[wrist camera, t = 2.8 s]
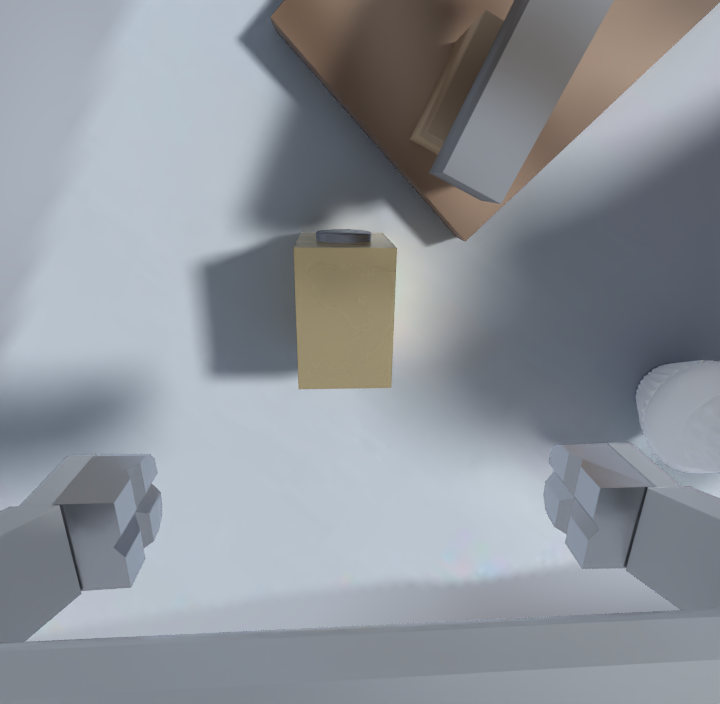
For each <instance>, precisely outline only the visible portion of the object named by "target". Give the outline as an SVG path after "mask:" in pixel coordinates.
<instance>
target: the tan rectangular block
mask: <svg viewBox="0 0 720 704" xmlns="http://www.w3.org/2000/svg"><path fill="white" fill-rule="evenodd" d="M396 256H397V248H396V247H395V245H394V244H393V243H392V242H391V241H390V240H389V239H388V238H387V237H386V236H385V235H384V234H383V233H371V232H369V231H363V230H350V229H332V230H321V231H317V232H316V233H300V235H299V237H298V239H297V241H296V243H295V246H294V275H295V302H296V329H297V357H298V384H299V389H339V388H391V379H392V354H393V330H394V305H395V281H396Z"/></svg>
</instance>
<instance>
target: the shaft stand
mask: <svg viewBox="0 0 720 704" xmlns="http://www.w3.org/2000/svg"><path fill="white" fill-rule="evenodd" d="M719 2H720V0H284V1H283V2H282V4H281V5H280V6H279V7H278V8H277V10H276V11H275V12H274V13H273V15H272V16H271V17H270V18H271V20H272V23H273V26H274V28H275V30H276V31H277V32H278V33H279V34H280V35H281V36H282V38H283V39H284V40H285V41H286V42H287V43H288V44H289V46H290V47H291V48H292V49H293V50H294V51H295V52H296V54H297V55H298V56H299V57H300V58H301V59H302V60H303V62H304V63H305V64H306V65H307V66H308V67H309V68H310V70H311V71H312V72H313V73H314V74H315V75H316V77H317V78H318V79H319V80H320V81H321V82H322V83H323V85H324V86H325V87H326V88H327V89H328V90H329V91H330V93H331V94H332V95H333V96H334V97H335V98H336V99H337V101H338V102H339V103H340V104H341V105H342V106H343V107H344V109H345V110H346V111H347V112H348V113H349V114H350V115H351V117H352V118H353V119H354V120H355V121H356V122H357V123H358V125H359V126H360V127H361V128H362V129H363V130H364V131H365V133H366V134H367V135H368V136H369V137H370V138H371V139H372V141H373V142H374V143H375V144H376V145H377V146H378V148H379V149H380V150H381V151H382V152H383V153H384V154H385V156H386V157H387V158H388V159H389V160H390V161H391V162H392V164H393V165H394V166H395V167H396V168H397V169H398V170H399V172H400V173H401V174H402V175H403V176H404V177H405V178H406V180H407V181H408V182H409V183H410V184H411V185H412V186H413V188H414V189H415V190H416V191H417V192H418V193H419V194H420V196H421V197H422V198H423V199H424V200H425V201H426V202H427V204H428V205H429V206H430V207H431V208H432V209H433V211H434V212H435V213H436V214H437V215H438V216H439V217H440V219H441V220H442V221H443V222H444V223H445V224H446V225H447V227H448V228H449V229H450V230H451V231H452V232H453V233H454V235H455V236H456V237H457V238H459V239H461V240H463V241H466V240H467V239H468V238H469V237H471V236H472V235H473V234H474V233H475V232H476V231H477V230H478V229H479V228H480V227H481V226H482V225H483V224H484V223H485V222H486V221H488V220H489V219H490V218H491V217H492V216H493V215H494V214H495V213H496V212H497V211H498V210H499V209H500V208H501V207H502V206H503V205H505V204H506V203H507V202H508V201H509V200H510V199H511V198H512V197H513V196H514V195H515V194H516V193H517V192H518V191H519V190H520V189H522V188H523V187H524V186H525V185H526V184H527V183H528V182H529V181H530V180H531V179H532V178H533V177H534V176H535V175H536V174H538V173H539V172H540V171H541V170H542V169H543V168H544V167H545V166H546V165H547V164H548V163H549V162H550V161H551V160H552V159H553V158H555V157H556V156H557V155H558V154H559V153H560V152H561V151H562V150H563V149H564V148H565V147H566V146H567V145H568V144H569V143H570V142H572V141H573V140H574V139H575V138H576V137H577V136H578V135H579V134H580V133H581V132H582V131H583V130H584V129H585V128H586V127H587V126H589V125H590V124H591V123H592V122H593V121H594V120H595V119H596V118H597V117H598V116H599V115H600V114H601V113H602V112H603V111H605V110H606V109H607V108H608V107H609V106H610V105H611V104H612V103H613V102H614V101H615V100H616V99H617V98H618V97H619V96H620V95H622V94H623V93H624V92H625V91H626V90H627V89H628V88H629V87H630V86H631V85H632V84H633V83H634V82H635V81H636V80H637V79H639V78H640V77H641V76H642V75H643V74H644V73H645V72H646V71H647V70H648V69H649V68H650V67H651V66H652V65H653V64H655V63H656V62H657V61H658V60H659V59H660V58H661V57H662V56H663V55H664V54H665V53H666V52H667V51H668V50H669V49H670V48H672V47H673V46H674V45H675V44H676V43H677V42H678V41H679V40H680V39H681V38H682V37H683V36H684V35H685V34H686V33H687V32H689V31H690V30H691V29H692V28H693V27H694V26H695V25H696V24H697V23H698V22H699V21H700V20H701V19H702V18H703V17H704V16H706V15H707V14H708V13H709V12H710V11H711V10H712V9H713V8H714V7H715V6H716V5H717V4H718V3H719Z"/></svg>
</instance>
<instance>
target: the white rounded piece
mask: <svg viewBox="0 0 720 704" xmlns="http://www.w3.org/2000/svg"><path fill="white" fill-rule="evenodd" d="M636 393H637V394H636V395H635V397H636V404H637V409H638V415H639V420H640V425H641V429H642V431H643V432H644V436H645V438H646V440H647V443H648V445H649V447H650V448H651V450H652V451H653V453H654V454H655V455H656V456H657V457H658V458H659V459H660V460H661V461H662V462H664V463H665V464H667V465H668V466H670V467H672V468H674V469H676V470H679V471H683V472H687V473H697V474H706V473H716V472H718V473H720V361H715V360H709V361H705V360H697V361H689V362H680V363H671V364H665V365H662V366H658V367H657V368H655V369H653V370H652V371H651V372H648V374H647V375H646V376H644V378H643V380H641V381H640V384H639V385H638V389H637V390H636Z"/></svg>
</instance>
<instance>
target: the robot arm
mask: <svg viewBox="0 0 720 704" xmlns="http://www.w3.org/2000/svg"><path fill="white" fill-rule="evenodd" d="M549 464H550V466H551V467H552V469H553V470H554V472H553V473H552V475H551V476H550V477H549V478H548V479H547V480H546V481H545V488H544V502H545V509H546V512H547V514H548V517H549V519H550V520H551V522H552V524H553V525H554V527H556V528H557V529H559V530H561V531H562V532H564V533H565V534H567V535H566V541H565V544H566V545H567V547H568V548H569V550H570V551H571V553H572V554H573V556H574V557H575V559H576V560H577V562H578V563H579V565H580V566H581V568H582V569H598V568H626V571H627V572H629V573H630V574H632V575H633V576H634V577H636V578H637V579H639V580H640V581H641V582H643V583H644V584H645V585H647V586H648V587H650V588H651V589H652V590H654V591H655V592H657V593H658V594H659V595H661V596H662V597H663V598H665V599H666V600H668V601H669V602H670V603H672V604H673V605H674V606H676V607H677V608H679V609H680V610H676V611H675V610H674V611H653V612H633V613H612V614H593V615H571V616H551V617H550V616H549V617H530V618H529V617H528V618H507V619H487V620H466V621H446V622H426V623H407V624H387V625H366V626H344V627H324V628H303V629H282V630H261V631H243V632H242V631H241V632H219V633H199V634H179V635H158V636H136V637H115V638H95V639H74V640H53V641H32V642H25V641H26V640H27V639H28V638H29V637H31V636H32V635H33V634H34V633H35V632H37V631H38V630H39V629H40V628H41V627H42V626H44V625H45V624H46V623H47V622H48V621H49V620H51V619H52V618H53V617H54V616H55V615H57V614H58V613H59V612H60V611H61V610H62V609H64V608H65V607H66V606H67V605H68V604H70V603H71V602H72V601H73V600H74V599H75V598H77V597H78V596H79V595H80V594H81V591H87V590H102V589H116V588H130V587H132V585H133V583H134V581H135V579H136V577H137V575H138V573H139V571H140V569H141V567H142V564H143V562H144V560H145V554H144V549H143V548H145V547H146V546H148V545H149V544H150V543H152V542H153V541H154V540H155V537H156V535H157V533H158V531H159V527H160V522H161V518H162V498H161V492H160V491H159V490H158V489H157V488H156V487H155V486H154V485H153V484H152V482H153V480H154V478H155V477H156V475H157V468H156V463H155V458H154V457H153V456H152V455H151V454H99V455H98V454H80V455H70V456H67V457H66V458H65V459H64V460H63V461H62V462H61V463H60V464H59V465H58V466H57V467H56V468H55V469H54V470H53V471H52V472H51V473H50V474H49V475H48V476H47V477H46V478H45V479H44V481H43V482H42V483H41V484H40V485H39V486H38V487H37V488H36V489H35V490H34V491H33V492H32V493H31V494H30V495H29V496H28V497H27V498H26V499H25V500H24V501H23V502H22V504H21V505H20V506H16V507H8V508H6V509H4V510H2V511H0V704H720V498H717V497H715V496H713V495H710V494H708V493H705V492H703V491H700V490H698V489H695V488H693V487H690V486H681V485H680V484H679V483H677V482H676V481H675V480H674V479H673V478H672V477H670V476H669V475H668V474H667V473H666V472H665V471H663V470H662V469H661V468H660V467H659V466H658V465H656V464H655V463H654V462H653V461H652V460H651V459H649V458H648V457H647V456H646V455H645V454H644V453H642V452H641V451H640V450H639V449H638V448H637V447H635V446H634V445H633V444H632V443H628V442H625V441H622V442H606V443H589V444H569V445H554V447H553V449H552V451H551V453H550V458H549Z"/></svg>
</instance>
